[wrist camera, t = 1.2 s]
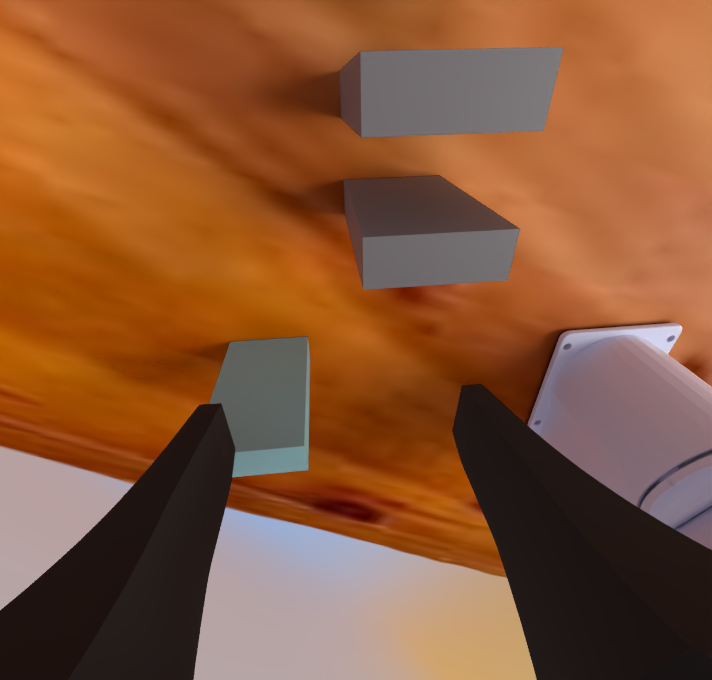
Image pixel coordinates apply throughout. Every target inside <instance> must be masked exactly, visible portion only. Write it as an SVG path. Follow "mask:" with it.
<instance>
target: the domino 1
mask: <svg viewBox="0 0 712 680" xmlns="http://www.w3.org/2000/svg"><path fill="white" fill-rule="evenodd" d="M563 48H564V47H539V48H492V49H446V50H399V51H360V52H359V53H358V54H357V55H356V56H355V57H354V58H353V59H351V60H350V61H349V62H348V63H347V64H346V65H345V66H344V67H343V68H342V69H341V70H339V78H340V103H341V119H342V120H343V121H345V122H346V123H347V124H348V125H349V126H350V127H351V128H352V129H353V130H354V131H355V132H356V133H357V134H358V135H359V136H360V137H361V138H366V137H393V136H420V135H447V134H474V133H501V132H528V131H544V127H545V123H546V119H547V115H548V110H549V106H550V102H551V98H552V94H553V90H554V85H555V81H556V77H557V73H558V69H559V64H560V60H561V56H562V52H563Z"/></svg>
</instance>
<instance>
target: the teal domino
mask: <svg viewBox="0 0 712 680" xmlns="http://www.w3.org/2000/svg"><path fill="white" fill-rule="evenodd" d="M309 399H310V352H309V343H308V336H306V337H292V338H278V339H264V340H250V341H236V342H230V344H229V347H228V350H227V353H226V356H225V359H224V361H223V364H222V367H221V370H220V373H219V376H218V379H217V382H216V385H215V388H214V391H213V394H212V397H211V400H210V403H209V404H217V403H221V404H222V407H223V410H224V413H225V416H226V420H227V423H228V426H229V429H230V433H231V436H232V439H233V442H234V445H235V449H236V450H235V458H234V467H233V474H232V477H241V476H251V475H262V474H272V473H283V472H293V471H304V470H308V454H309Z"/></svg>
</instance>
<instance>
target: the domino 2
mask: <svg viewBox="0 0 712 680" xmlns="http://www.w3.org/2000/svg"><path fill="white" fill-rule="evenodd" d="M344 202H345V217H346V221H347V225H348V229H349V233H350V237H351V241H352V246H353V250H354V254H355V258H356V262H357V266H358V270H359V274H360V278H361V282H362V286H363V290H366V289H382V288H397V287H413V286H428V285H444V284H459V283H475V282H490V281H506V280H508V277H509V273H510V269H511V264H512V260H513V256H514V252H515V248H516V243H517V239H518V235H519V231H520V229H519V228H518V227H516V226H515V225H513V224H512V223H510V222H509V221H507V220H506V219H504V218H503V217H501V216H500V215H498V214H497V213H495V212H494V211H492V210H491V209H489V208H488V207H486V206H485V205H483V204H482V203H480V202H479V201H477V200H476V199H474V198H473V197H471V196H470V195H468V194H467V193H465V192H464V191H462V190H461V189H459V188H458V187H456V186H455V185H453V184H452V183H450V182H449V181H447V180H446V179H444V178H443V177H441V176H440V175H436V176H413V177H391V178H369V179H346V180H344Z"/></svg>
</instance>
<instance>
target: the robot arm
mask: <svg viewBox="0 0 712 680" xmlns="http://www.w3.org/2000/svg"><path fill="white" fill-rule="evenodd" d="M681 331H682V326H680V325H679V324H677V323H664V324H651V325H638V326H624V327H611V328H597V329H584V330H571V331H566V332H564V333H562V334H561V335H560V337H559V340H558V342H557V345H556V348H555V350H554V353H553V356H552V359H551V361H550V364H549V367H548V370H547V372H546V375H545V378H544V380H543V383H542V386H541V389H540V391H539V394H538V397H537V400H536V402H535V405H534V408H533V411H532V413H531V416H530V419H529V421H528V424H527V425H526V424H525V423H524V422H523V421H522V420H521V419H520V418H518V417H517V416H516V415H515V414H514V413H513V412H512V411H511V410H510V409H508V408H507V407H506V406H505V405H504V404H503V403H502V402H501V401H500V400H499V399H498V398H496V397H495V396H494V395H493V394H492V393H491V392H490V391H489V390H488V389H487V388H485V387H484V386H483V385H482V384H476V385H462V389H461V393H460V398H459V402H458V407H457V412H456V416H455V421H454V425H453V430H452V431H453V435H454V439H455V442H456V446H457V449H458V453H459V456H460V459H461V462H462V465H463V467H464V470H465V472H466V474H467V477H468V479H469V481H470V484H471V486H472V488H473V491H474V493H475V495H476V498H477V500H478V502H479V505H480V507H481V509H482V512H483V514H484V516H485V519H486V521H487V523H488V525H489V528H490V530H491V532H492V535H493V538H494V540H495V543H496V545H497V548H498V551H499V554H500V557H501V560H502V563H503V566H504V569H505V572H506V575H507V578H508V581H509V585H510V588H511V591H512V594H513V598H514V601H515V604H516V608H517V611H518V613H519V617H520V621H521V624H522V627H523V631H524V635H525V638H526V642H527V645H528V649H529V652H530V656H531V660H532V663H533V667H534V670H535V674H536V678H537V680H712V387H711V386H710V385H708V384H707V383H706V382H704V381H703V380H702V379H700V378H699V377H698V376H696V375H695V374H693V373H692V372H691V371H689V370H688V369H687V368H685V367H684V366H683V365H681V364H680V363H679V362H677V361H676V360H675V359H673V358H672V357H671V356H669V355H668V353H669V352H670V350H671V348H672V347H673V345H674V343H675V342H676V340H677V338H678V337H679V335H680V333H681ZM566 344H567V345H566ZM564 345H565V346H564ZM539 435H540V436H541V437H540V436H539ZM235 450H236V449H235V445H234V442H233V439H232V436H231V433H230V429H229V426H228V423H227V420H226V416H225V413H224V410H223V407H222V404H221V403H217V404H203V405H199V406H198V407H197V409H196V410H195V411H194V412H193V414H192V415H191V416H190V417H189V419H188V420H187V421H186V423H185V424H184V425H183V426H182V428H181V429H180V430H179V432H178V433H177V434H176V435H175V437H174V438H173V439H172V440H171V442H170V443H169V444H168V445H167V447H166V448H165V449H164V450H163V451H162V453H161V454H160V455H159V456H158V457H157V459H156V460H155V461H154V462H153V463H152V465H151V466H150V467H149V468H148V469H147V471H146V472H145V473H144V474H143V475H142V476H141V477H140V479H139V480H138V481H137V482H136V483H135V484H134V485H133V487H131V489H130V490H129V491H128V492H127V493H126V494H125V495H124V496H123V498H122V499H121V500H120V501H119V502H118V503H117V504H116V505H115V506H114V507H113V508H112V509H111V510H110V511H109V512H108V513H107V514H106V515H105V516H104V518H102V519H101V521H100V522H98V524H97V525H95V526H94V527H93V528H92V529H91V530H90V531H89V532H88V533H87V534H86V535H85V536H84V537H83V538H82V539H81V540H80V541H79V542H78V543H77V544H76V545H75V546H74V547H73V548H71V549H70V550H69V551H68V552H67V553H66V554H65V555H64V556H63V557H62V558H61V559H59V560H58V561H57V562H56V563H55V564H54V565H53V566H52V567H51V568H49V569H48V570H47V571H46V572H45V573H44V574H43V575H42V576H40V577H39V578H38V579H37V580H36V581H35V582H34V583H32V584H31V585H30V586H29V587H28V588H27V589H26V590H25V591H23V592H22V593H21V594H20V595H18V596H17V597H16V598H15V599H14V600H12V601H11V602H10V603H9V604H8V605H6V606H5V607H4V608H3V609H2V610H0V680H193V679H194V670H195V661H196V655H197V648H198V641H199V634H200V627H201V620H202V613H203V607H204V601H205V594H206V588H207V582H208V576H209V572H210V567H211V562H212V558H213V554H214V550H215V546H216V542H217V538H218V534H219V531H220V526H221V523H222V519H223V515H224V510H225V507H226V503H227V499H228V494H229V490H230V486H231V482H232V474H233V467H234V458H235Z"/></svg>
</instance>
